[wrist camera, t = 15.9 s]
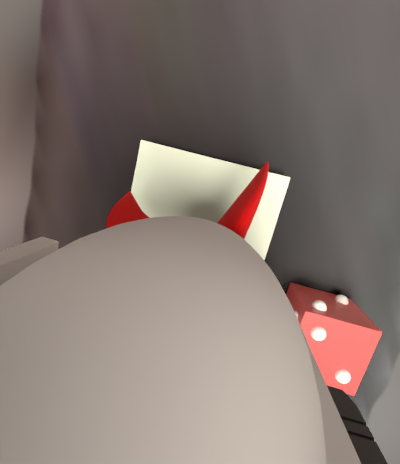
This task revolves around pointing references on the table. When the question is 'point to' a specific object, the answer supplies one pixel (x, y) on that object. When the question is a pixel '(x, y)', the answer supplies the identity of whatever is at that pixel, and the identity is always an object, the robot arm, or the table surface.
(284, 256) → the table surface
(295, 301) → the red die
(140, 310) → the rocket
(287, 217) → the table surface
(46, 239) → the robot arm
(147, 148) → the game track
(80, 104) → the table surface
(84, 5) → the table surface
